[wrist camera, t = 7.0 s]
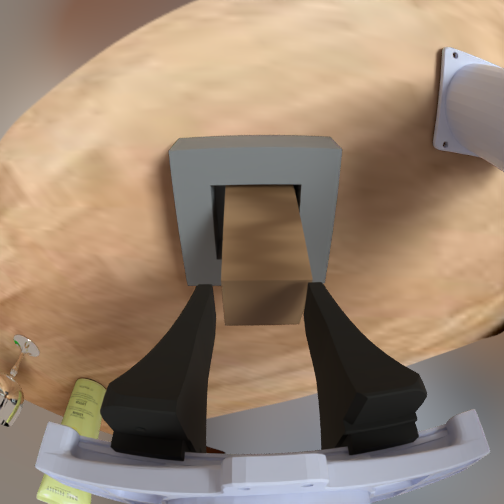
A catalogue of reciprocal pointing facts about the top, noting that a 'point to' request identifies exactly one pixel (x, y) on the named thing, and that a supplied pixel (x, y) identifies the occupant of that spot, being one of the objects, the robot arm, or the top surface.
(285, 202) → the walnut peg
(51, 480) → the tube
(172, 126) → the top surface
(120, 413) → the robot arm
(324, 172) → the socket block
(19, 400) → the wineglass
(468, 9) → the top surface
